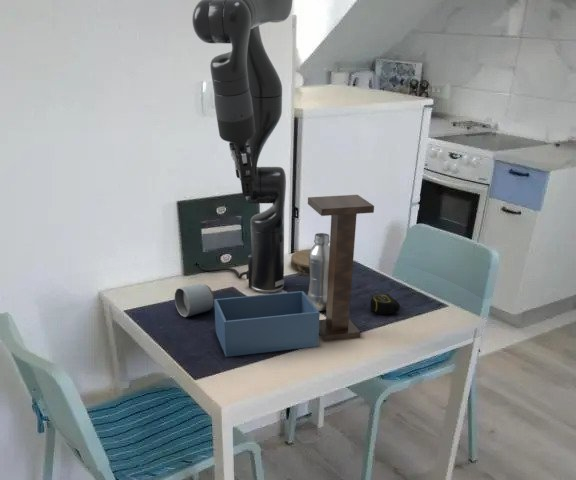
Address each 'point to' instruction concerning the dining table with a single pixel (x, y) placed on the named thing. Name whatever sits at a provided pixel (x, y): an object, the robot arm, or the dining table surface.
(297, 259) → the brown flat round disc
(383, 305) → the tape measure
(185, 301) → the ceramic mug
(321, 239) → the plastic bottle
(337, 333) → the shelf stand
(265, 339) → the blue open rectangular box
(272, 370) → the dining table surface
